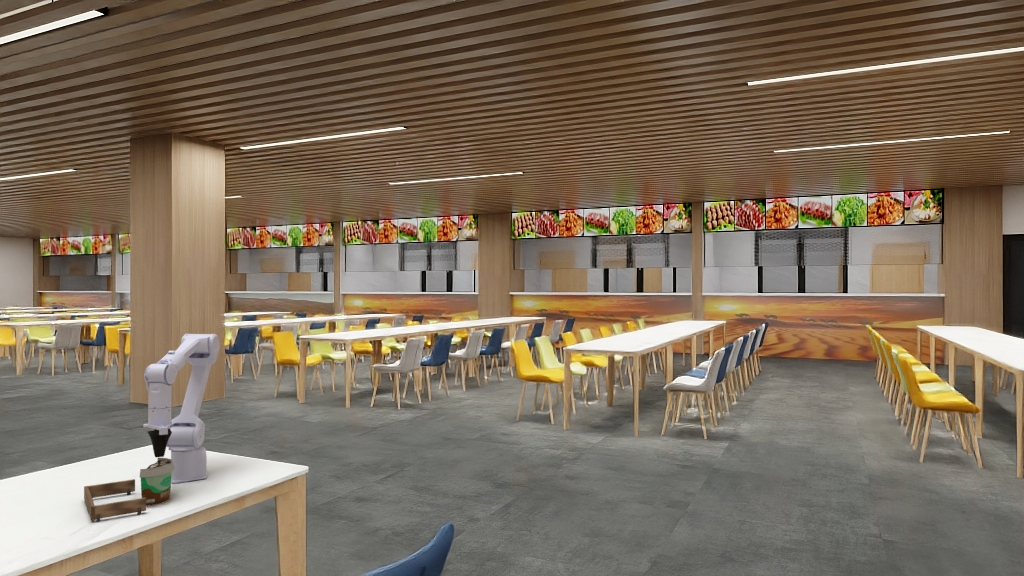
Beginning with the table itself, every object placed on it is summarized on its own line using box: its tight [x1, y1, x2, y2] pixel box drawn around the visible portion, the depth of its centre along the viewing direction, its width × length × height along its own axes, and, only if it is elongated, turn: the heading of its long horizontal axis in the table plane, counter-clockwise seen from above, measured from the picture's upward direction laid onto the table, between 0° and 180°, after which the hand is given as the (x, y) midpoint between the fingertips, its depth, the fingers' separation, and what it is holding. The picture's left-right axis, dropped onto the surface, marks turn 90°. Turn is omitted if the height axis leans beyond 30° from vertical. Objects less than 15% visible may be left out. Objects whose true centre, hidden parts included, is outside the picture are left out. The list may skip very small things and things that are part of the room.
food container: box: [139, 457, 175, 507], centre depth 189 cm, size 12×6×10 cm, turn 6°
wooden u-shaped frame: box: [83, 478, 147, 522], centre depth 183 cm, size 12×21×4 cm, turn 36°
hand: (159, 456), depth 193 cm, fingers closed
